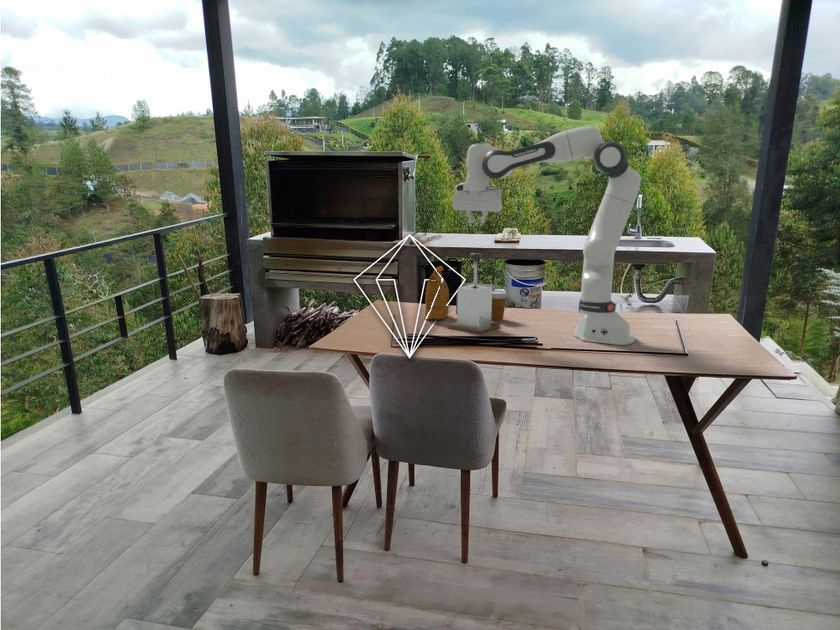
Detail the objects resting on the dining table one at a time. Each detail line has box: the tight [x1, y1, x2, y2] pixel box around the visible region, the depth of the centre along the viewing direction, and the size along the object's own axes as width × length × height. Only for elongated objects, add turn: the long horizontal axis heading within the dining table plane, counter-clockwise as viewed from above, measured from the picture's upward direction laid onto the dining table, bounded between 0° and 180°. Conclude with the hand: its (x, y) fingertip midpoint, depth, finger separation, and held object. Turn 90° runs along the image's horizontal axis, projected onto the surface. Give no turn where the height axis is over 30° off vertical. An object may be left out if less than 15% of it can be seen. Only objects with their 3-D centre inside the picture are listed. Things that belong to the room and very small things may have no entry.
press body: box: [447, 284, 501, 335], centre depth 242 cm, size 16×14×16 cm
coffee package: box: [424, 265, 450, 321], centre depth 259 cm, size 10×12×22 cm
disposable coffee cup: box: [491, 289, 508, 322], centre depth 257 cm, size 10×10×12 cm
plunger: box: [469, 252, 482, 288], centre depth 240 cm, size 8×8×18 cm
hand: (476, 222), depth 235 cm, fingers open, 3 cm apart
